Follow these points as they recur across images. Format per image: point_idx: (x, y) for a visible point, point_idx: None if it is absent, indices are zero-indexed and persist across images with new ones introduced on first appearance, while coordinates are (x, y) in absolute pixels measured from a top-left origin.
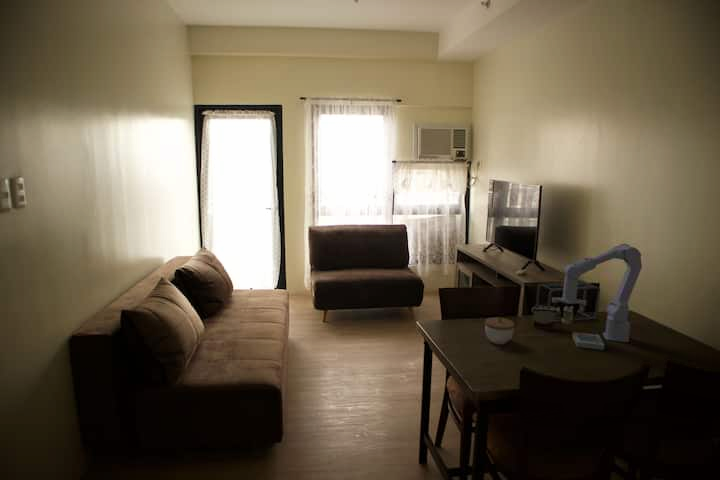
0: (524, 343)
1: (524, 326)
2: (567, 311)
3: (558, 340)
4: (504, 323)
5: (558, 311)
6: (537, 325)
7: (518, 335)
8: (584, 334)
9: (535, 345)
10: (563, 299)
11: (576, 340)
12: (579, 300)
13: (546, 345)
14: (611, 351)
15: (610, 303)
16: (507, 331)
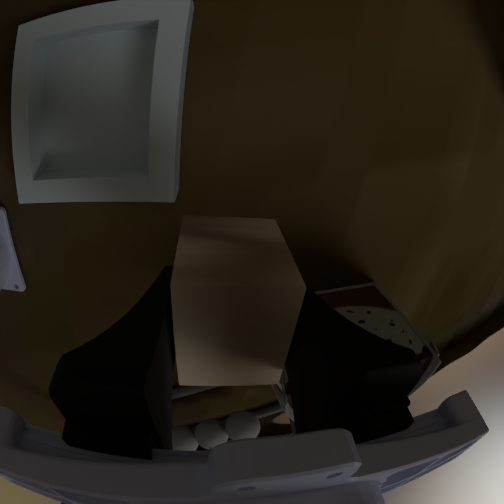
0: (474, 58)
1: (408, 283)
2: (237, 349)
3: (295, 101)
4: None
5: (221, 429)
6: (362, 294)
7: (474, 158)
8: (96, 176)
9: (439, 27)
10: (379, 488)
11: (186, 27)
12: (74, 501)
13: (389, 20)
14: (7, 38)
15: None
16: None
